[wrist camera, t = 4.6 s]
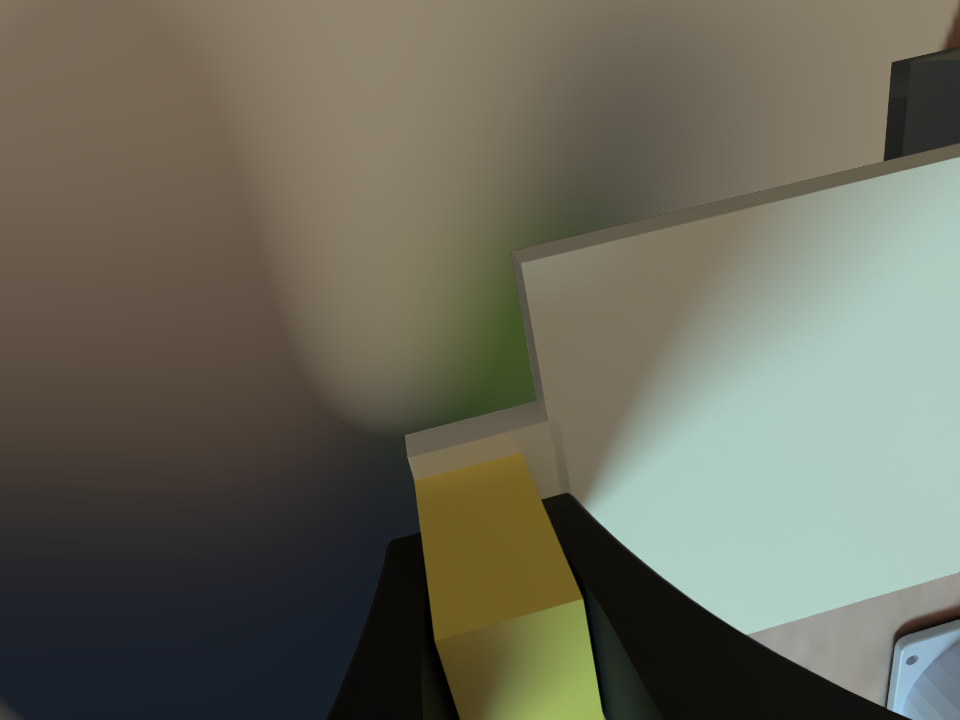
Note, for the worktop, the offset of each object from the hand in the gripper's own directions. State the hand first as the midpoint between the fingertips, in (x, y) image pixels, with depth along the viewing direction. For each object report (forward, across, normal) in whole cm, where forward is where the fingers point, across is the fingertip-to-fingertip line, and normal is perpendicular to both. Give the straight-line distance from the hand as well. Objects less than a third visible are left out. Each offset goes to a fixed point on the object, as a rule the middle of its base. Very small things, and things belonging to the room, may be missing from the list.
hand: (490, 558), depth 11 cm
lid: (+2, -7, 0) cm, 7 cm away
